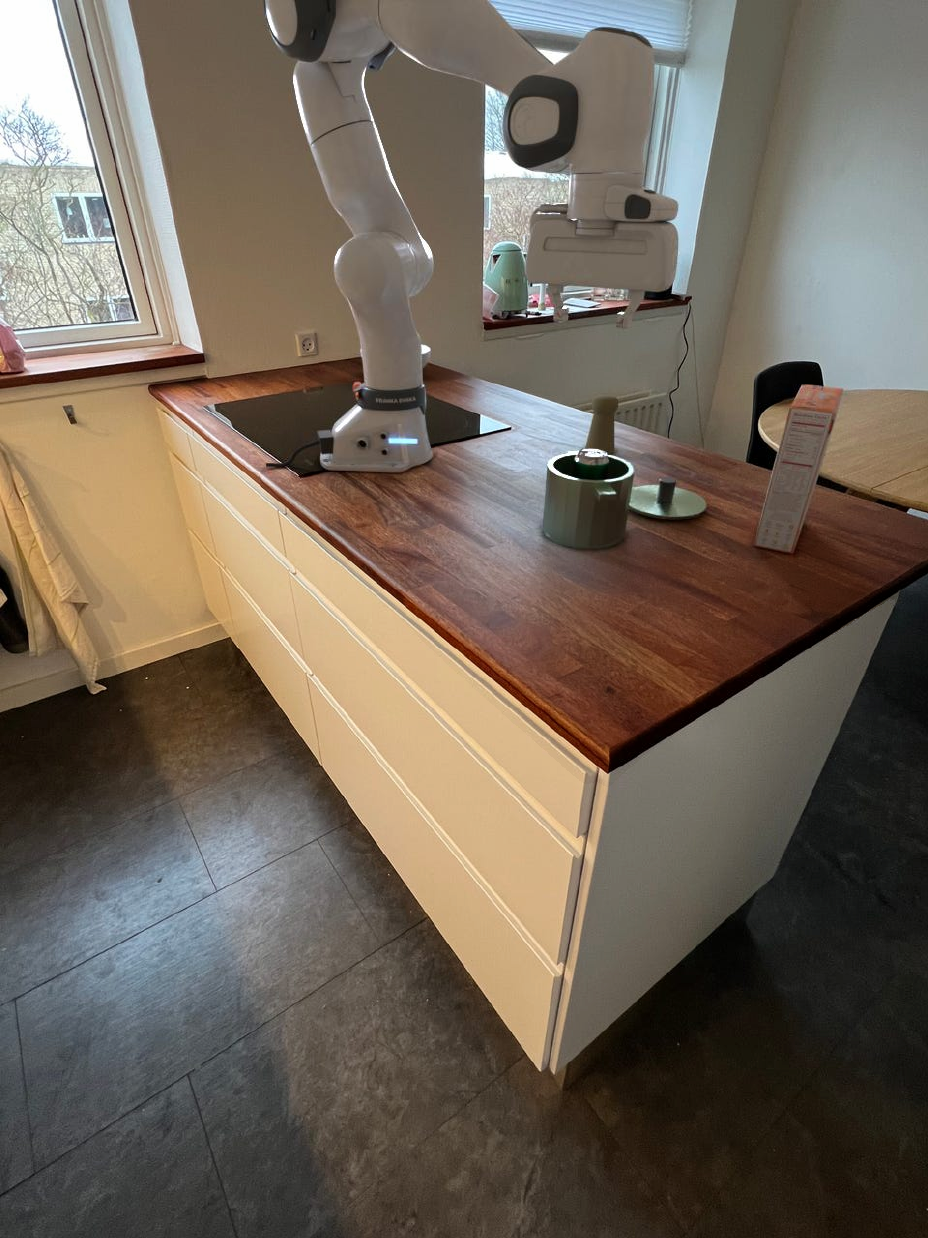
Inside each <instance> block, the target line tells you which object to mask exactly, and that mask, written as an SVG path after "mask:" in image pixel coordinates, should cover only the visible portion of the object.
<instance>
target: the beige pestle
mask: <svg viewBox="0 0 928 1238" xmlns="http://www.w3.org/2000/svg"><path fill="white" fill-rule="evenodd" d="M591 409H592V411H593V414H592V418H591V422H590V427H589V431H588V434H587V439H586V443H585V447H584V449H586V448H595V449H600V450H603V451H605V452H607V454H608V455H611V454H613V453H614V452H615V414H616V412H617V411H618V409H619V399H618V398H617V397H616V396H614V395H612V394H604V393H603V394H598V395H596V396H594V398H593V399H592V402H591Z"/></svg>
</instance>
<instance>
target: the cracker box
mask: <svg viewBox="0 0 928 1238" xmlns="http://www.w3.org/2000/svg"><path fill="white" fill-rule="evenodd" d="M843 392H844V388H839V387H832V386H831V387H830V386H823V385H817V384H801V386H800V388H799V390H798V392H797V393H796V395H795V398H794V399H793V401H792V403H791V405H790V406H789V408H788V412H787V417H786V419H785V424H784V427H783V431H782V435H781V438H780V442H779V446H778V449H777V453H776V456H775V461H774V464H773V468H772V472H771V475H770V479H769V483H768V487H767V490H766V495H765V499H764V502H763V506H762V511H761V514H760V518H759V521H758V526H757V529H756V532H755V537H754V541H753V544H752V545H753V546H754V547H756V548H762V549H767V550H771V551H772V550H773V551H776V552H781V553H784V554H785V553H786V554H791V555H793V554H794V552H795V549H796V546H797V543H798V540H799V537H800V534H801V531H802V528H803V526H804V523H805V520H806V516H807V513H808V510H809V506H810V505H811V504H810V503H811V500H812V497H813V494H814V491H815V488H816V484H817V481H818V478H819V475H820V472H821V468H822V465H823V462H824V458H825V457H826V456H825V455H826V452H827V449H828V445H829V442H830V439H831V435H832V433H833V429H834V426H835V422H836V419H837V416H838V412H839V408H840V404H841V401H842V396H843Z"/></svg>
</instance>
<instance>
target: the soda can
mask: <svg viewBox="0 0 928 1238" xmlns="http://www.w3.org/2000/svg"><path fill="white" fill-rule="evenodd" d="M577 451H578V455H577V456H576V457H575V459H574V468H573V478H578V479H585V480H607V475H608V467H609V459H608V457H607V455H609V454H607V452H605V451H603V450H600V449H595V448H586V449H585V448H582V449H579V450H577Z"/></svg>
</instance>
